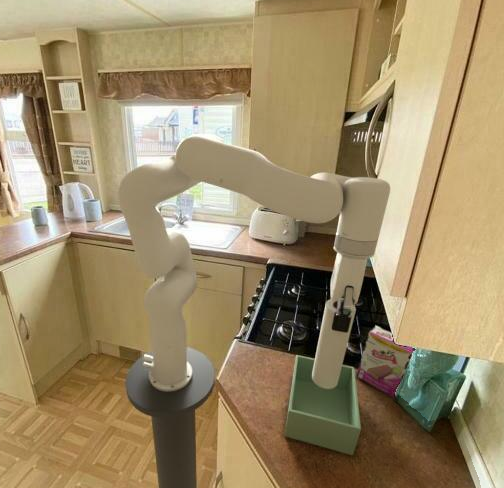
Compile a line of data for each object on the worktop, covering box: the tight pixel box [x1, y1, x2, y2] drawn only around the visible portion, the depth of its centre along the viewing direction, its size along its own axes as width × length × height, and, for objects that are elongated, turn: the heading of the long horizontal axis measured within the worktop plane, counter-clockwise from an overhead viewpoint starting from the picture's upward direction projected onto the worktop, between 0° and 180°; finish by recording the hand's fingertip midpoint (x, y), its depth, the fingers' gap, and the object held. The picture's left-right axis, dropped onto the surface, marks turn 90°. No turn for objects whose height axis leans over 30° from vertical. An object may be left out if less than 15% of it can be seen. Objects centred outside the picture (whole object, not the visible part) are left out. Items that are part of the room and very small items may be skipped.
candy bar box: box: [355, 325, 417, 399], centre depth 86 cm, size 11×5×16 cm, turn 44°
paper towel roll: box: [312, 297, 357, 389], centre depth 71 cm, size 7×6×21 cm
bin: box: [284, 354, 362, 456], centre depth 78 cm, size 15×19×9 cm
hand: (338, 318), depth 68 cm, fingers closed on paper towel roll, 8 cm apart
